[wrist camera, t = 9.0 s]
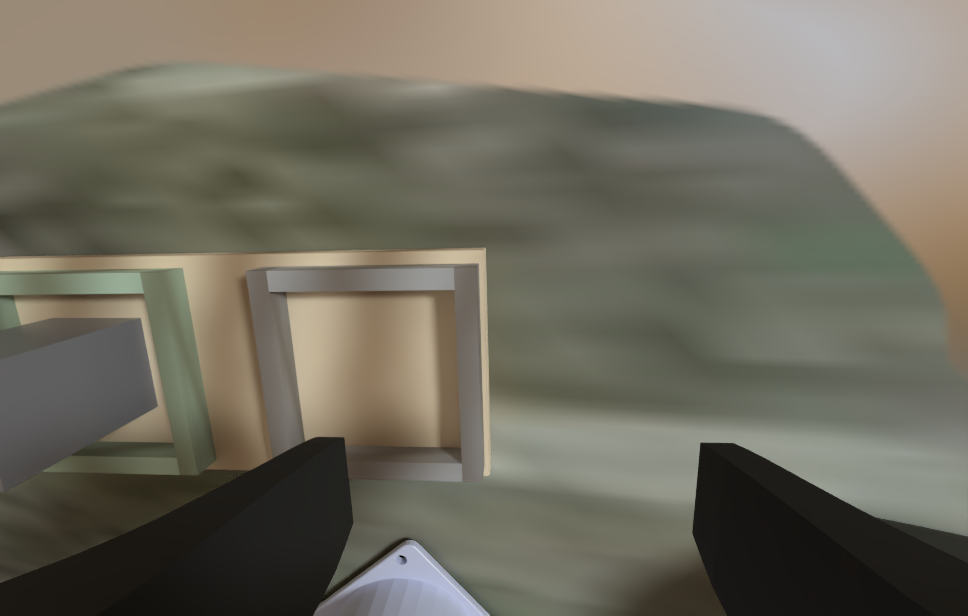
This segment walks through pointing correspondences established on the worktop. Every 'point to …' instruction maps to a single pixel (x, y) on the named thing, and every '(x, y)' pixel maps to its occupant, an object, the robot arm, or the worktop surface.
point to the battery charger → (936, 539)
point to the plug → (67, 389)
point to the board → (285, 355)
